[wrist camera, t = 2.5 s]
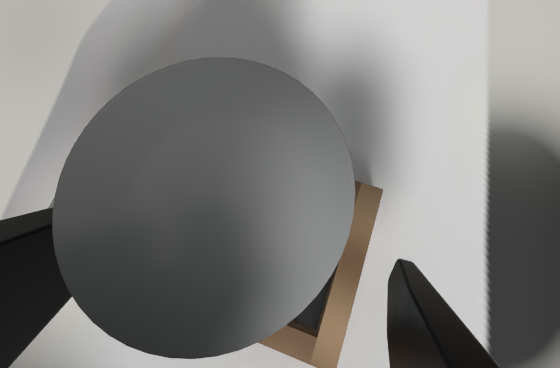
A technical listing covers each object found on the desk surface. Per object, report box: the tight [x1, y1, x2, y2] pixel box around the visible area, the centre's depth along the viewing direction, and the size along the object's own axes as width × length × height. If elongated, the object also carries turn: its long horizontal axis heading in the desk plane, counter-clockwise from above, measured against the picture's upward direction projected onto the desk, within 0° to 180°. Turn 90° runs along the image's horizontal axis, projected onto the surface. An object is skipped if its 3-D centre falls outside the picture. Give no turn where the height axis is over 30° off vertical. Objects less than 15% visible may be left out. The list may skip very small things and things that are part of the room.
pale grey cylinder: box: [52, 58, 355, 359], centre depth 11 cm, size 5×5×13 cm
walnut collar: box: [258, 181, 383, 368], centre depth 16 cm, size 9×9×2 cm
